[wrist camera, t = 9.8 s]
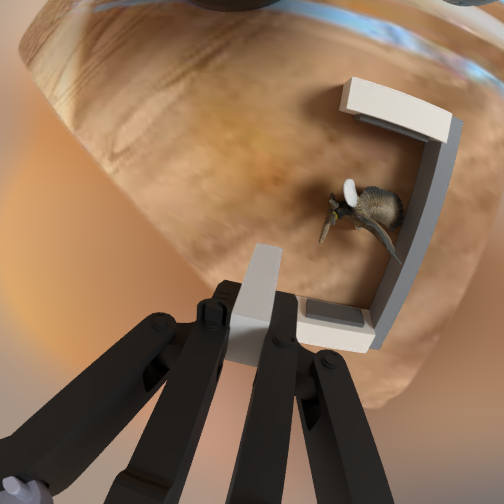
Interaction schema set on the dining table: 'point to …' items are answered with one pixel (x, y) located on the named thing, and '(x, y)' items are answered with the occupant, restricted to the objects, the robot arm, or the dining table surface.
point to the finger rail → (414, 225)
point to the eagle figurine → (367, 212)
